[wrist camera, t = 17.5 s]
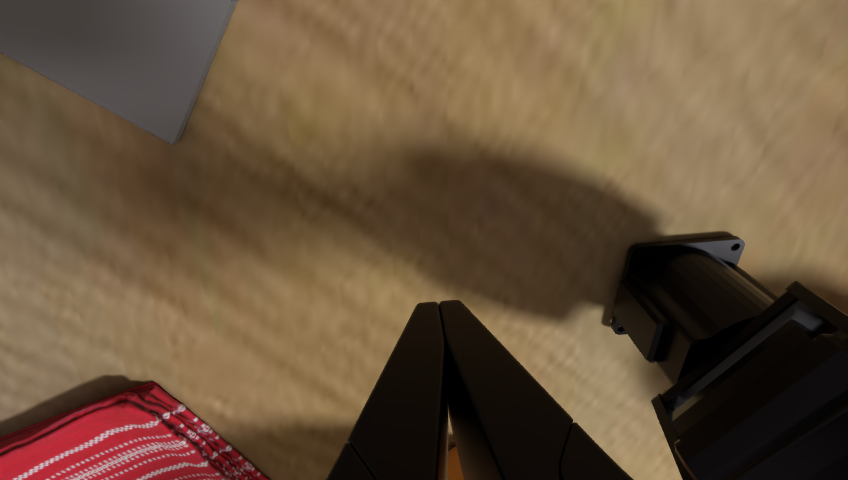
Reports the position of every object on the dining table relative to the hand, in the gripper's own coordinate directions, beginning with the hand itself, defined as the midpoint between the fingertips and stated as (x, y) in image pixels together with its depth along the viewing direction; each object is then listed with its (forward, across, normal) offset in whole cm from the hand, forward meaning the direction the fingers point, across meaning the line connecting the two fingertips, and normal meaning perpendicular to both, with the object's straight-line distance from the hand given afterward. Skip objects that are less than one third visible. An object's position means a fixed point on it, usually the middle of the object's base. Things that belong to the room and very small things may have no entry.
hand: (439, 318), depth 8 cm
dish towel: (+14, +22, +28) cm, 38 cm away
